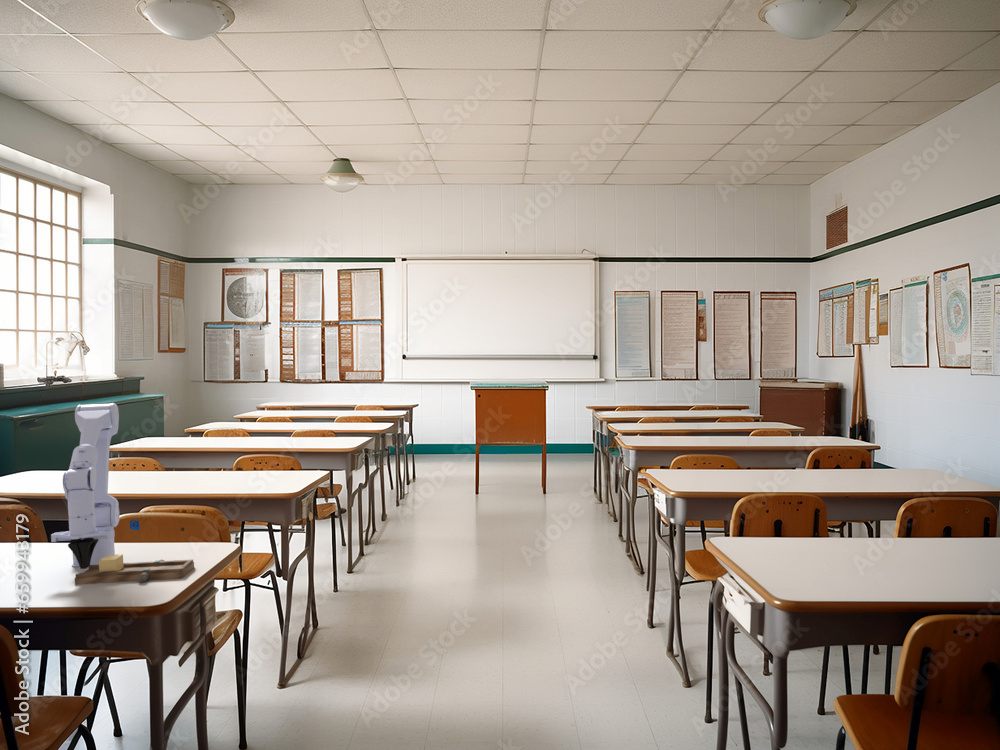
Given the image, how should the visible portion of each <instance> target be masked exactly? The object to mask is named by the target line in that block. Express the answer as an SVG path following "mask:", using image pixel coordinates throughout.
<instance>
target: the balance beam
mask: <svg viewBox="0 0 1000 750" xmlns="http://www.w3.org/2000/svg"><path fill="white" fill-rule="evenodd" d="M123 565H124V568H122V569H121V570H119V571H104V572H99V564H98V565H90V566H89V567H87V568H88V569H87V570H85V571H83V572H76V573H75V577H74V585H81V584H83V585H84V584H96V583H97V584H99V583H118V582H135V581H137V582H139V583H141V584H142V583H145V582H147V581H153V580H168V579H169V580H171V579H172V580H173V579H183V578H184V577H185V576H187V575H188V574H189V573H190V572H191V571H192V570H193V569H194V568H195V561H194V559H179V560H176V559H175V560H164V559H160V560H155V561H139V562H138V561H137V562H123Z"/></svg>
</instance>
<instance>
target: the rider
mask: <svg viewBox="0 0 1000 750" xmlns="http://www.w3.org/2000/svg"><path fill="white" fill-rule="evenodd" d="M119 554H120V555H106V556H105V557H103V558H102V559H100V560H99V572H104V571H119V570H121V569H122V568H124V565H123V563H124V555H123V553H122V554H121V553H119Z"/></svg>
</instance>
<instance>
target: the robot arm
mask: <svg viewBox="0 0 1000 750" xmlns="http://www.w3.org/2000/svg"><path fill="white" fill-rule="evenodd" d="M119 413H120V412H119V406H118V405H117V404H116V403H115V402H112V403H100V404H99V403H98V404H97V403H96V404H78V405H77V406H76V408H74V420H75V424H76V426H77V428H78V430H79V432H80V439H79V445H78V446H75V448H74V449H73V451H72V455H71V459H70V460H71V461H70V464H69V468H68V470H67V471H64V473H63V474H62V475H63V476H62V487H63V491H64V497H65V500H67V511H68V529H69V530H67V531H59V532H58V531H57V532H54V533H52V534H50V539H51V540H50V541H51V543H56V542H60V541H61V542H63V541H64V542H65V541H70V543H68V544H67V547H68V548H69V550H71V552H72V565H71V567H75V568H77V567H79V569H80V570H83V569H87V568H88V567H89V566H90V565H98V564H99V560H100V559H102V558H103V557H105V556H106V555H120V554H121V553H117V554H115V553H116V551H115V537H116V535H115V534H116V533H115V529H114V528H116V527H117V526H118V525H119V522H120V507H119V505H120V504H119V501H118V499H117V498H116V497H114V496H112V495H111V494H109V489H108V488H109V468H110V467H109V466H110V445H111V440H112V437H113V436H115V435H117V434H118V430H119V426H120V425H119V424H120V423H119V421H120V414H119Z"/></svg>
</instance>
